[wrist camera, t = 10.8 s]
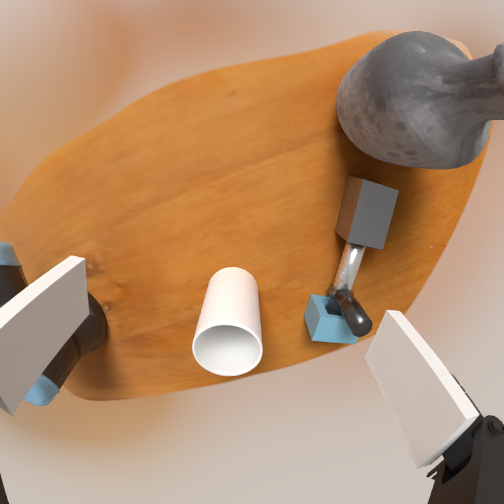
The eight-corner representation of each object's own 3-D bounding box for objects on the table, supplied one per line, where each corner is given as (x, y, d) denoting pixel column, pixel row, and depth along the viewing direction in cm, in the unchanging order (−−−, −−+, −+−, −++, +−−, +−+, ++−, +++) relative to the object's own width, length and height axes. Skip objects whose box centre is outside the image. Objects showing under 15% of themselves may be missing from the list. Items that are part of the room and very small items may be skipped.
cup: (267, 285, 45) (277, 346, 30) (238, 319, 47) (235, 385, 32) (227, 257, 44) (217, 310, 29) (198, 293, 46) (179, 354, 31)
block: (348, 175, 40) (363, 179, 34) (380, 185, 40) (398, 190, 34) (334, 230, 42) (347, 242, 37) (366, 238, 43) (382, 249, 37)
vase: (412, 167, 39) (564, 202, 11) (325, 159, 39) (471, 176, 10) (409, 78, 34) (545, 41, 5) (321, 62, 34) (426, -47, 5)
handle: (346, 217, 41) (380, 240, 29) (368, 222, 41) (406, 246, 30) (316, 313, 47) (335, 358, 35) (337, 316, 47) (359, 359, 35)
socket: (310, 294, 46) (320, 316, 39) (351, 299, 47) (365, 321, 40) (303, 316, 48) (311, 340, 41) (343, 320, 48) (355, 344, 41)
